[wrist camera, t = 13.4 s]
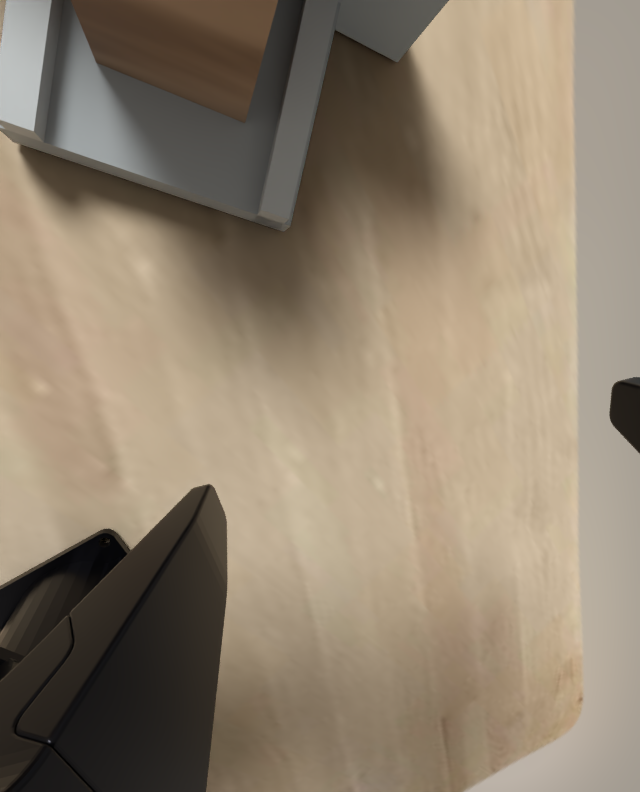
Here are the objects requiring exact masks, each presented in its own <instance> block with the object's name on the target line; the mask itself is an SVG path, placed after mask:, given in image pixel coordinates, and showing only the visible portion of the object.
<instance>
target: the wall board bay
mask: <svg viewBox="0 0 640 792" xmlns="http://www.w3.org/2000/svg"><path fill="white" fill-rule="evenodd" d="M448 1H449V0H278V3H277V6H276V10H275V14H274V17H273V21H272V25H271V29H270V32H269V36H268V40H267V43H266V47H265V51H264V55H263V58H262V62H261V66H260V69H259V73H258V77H257V81H256V84H255V88H254V92H253V95H252V99H251V103H250V107H249V110H248V114H247V118H246V121H245V123H243V122H241V121H238V120H236V119H233V118H231V117H228V116H226V115H224V114H221V113H219V112H216V111H214V110H211V109H209V108H206V107H204V106H201V105H199V104H197V103H194V102H192V101H189V100H187V99H184V98H182V97H179V96H177V95H174V94H172V93H170V92H167V91H165V90H162V89H160V88H157V87H155V86H152V85H150V84H147V83H145V82H143V81H140V80H138V79H135V78H133V77H130V76H128V75H125V74H123V73H120V72H118V71H115V70H113V69H111V68H108V67H106V66H103V65H101V64H98V63H96V61H95V58H94V56H93V54H92V51H91V49H90V46H89V44H88V41H87V39H86V36H85V34H84V32H83V29H82V27H81V24H80V22H79V19H78V17H77V14H76V12H75V10H74V7H73V5H72V2H71V0H6V6H5V14H4V22H3V31H2V39H1V47H0V131H2V132H3V133H4V134H5V135H6V136H7V137H8V138H9V139H10V140H12V141H13V142H15V143H18V144H21V145H24V146H27V147H30V148H33V149H36V150H39V151H42V152H45V153H48V154H51V155H54V156H57V157H60V158H63V159H66V160H69V161H72V162H75V163H78V164H81V165H84V166H87V167H90V168H93V169H96V170H99V171H102V172H105V173H108V174H111V175H114V176H117V177H120V178H123V179H126V180H129V181H132V182H135V183H138V184H141V185H144V186H147V187H150V188H153V189H156V190H159V191H162V192H165V193H168V194H171V195H174V196H177V197H180V198H183V199H186V200H189V201H192V202H195V203H198V204H201V205H204V206H207V207H210V208H213V209H216V210H219V211H222V212H225V213H228V214H231V215H234V216H237V217H240V218H243V219H246V220H249V221H252V222H255V223H258V224H261V225H264V226H267V227H270V228H273V229H276V230H279V231H283V232H284V231H285V230H286V229H288V228H289V227H290V226H291V221H292V217H293V213H294V208H295V204H296V199H297V195H298V191H299V186H300V182H301V177H302V173H303V168H304V164H305V160H306V155H307V151H308V146H309V142H310V138H311V133H312V129H313V124H314V120H315V116H316V111H317V107H318V102H319V98H320V93H321V89H322V85H323V80H324V76H325V71H326V67H327V63H328V58H329V54H330V49H331V45H332V40H333V36H334V32H335V30H336V31H338V32H340V33H342V34H344V35H346V36H348V37H350V38H352V39H353V40H355V41H357V42H359V43H361V44H363V45H365V46H367V47H369V48H371V49H372V50H374V51H376V52H378V53H380V54H382V55H384V56H386V57H388V58H390V59H391V60H393V61H395V62H398V61H399V60H400V59H401V58H402V56H403V55H404V54H405V53H406V51H407V50H408V49H409V48H410V47H411V45H412V44H413V43H414V42H415V41H416V39H417V38H418V37H419V36H420V35H421V33H422V32H423V31H424V30H425V29H426V27H427V26H428V25H429V24H430V22H431V21H432V20H433V19H434V18H435V16H436V15H437V14H438V13H439V12H440V10H441V9H442V8H443V7H444V6H445V4H446V3H447V2H448Z"/></svg>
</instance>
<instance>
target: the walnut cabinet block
mask: <svg viewBox="0 0 640 792" xmlns="http://www.w3.org/2000/svg"><path fill="white" fill-rule="evenodd" d="M71 2H72V5H73V7H74V10H75V12H76V14H77V17H78V19H79V22H80V24H81V27H82V29H83V32H84V34H85V36H86V39H87V41H88V44H89V46H90V49H91V51H92V54H93V56H94V58H95V61H96V63H98V64H101V65H103V66H106V67H108V68H111V69H113V70H115V71H118V72H120V73H123V74H125V75H128V76H130V77H133V78H135V79H138V80H140V81H143V82H145V83H147V84H150V85H152V86H155V87H157V88H160V89H162V90H165V91H167V92H170V93H172V94H174V95H177V96H179V97H182V98H184V99H187V100H189V101H192V102H194V103H197V104H199V105H201V106H204V107H206V108H209V109H211V110H214V111H216V112H219V113H221V114H224V115H226V116H228V117H231V118H233V119H236V120H238V121H241V122H243V123H245V121H246V118H247V114H248V110H249V107H250V103H251V99H252V95H253V92H254V88H255V84H256V81H257V77H258V73H259V69H260V66H261V62H262V58H263V55H264V51H265V47H266V43H267V40H268V36H269V32H270V29H271V25H272V21H273V17H274V14H275V10H276V6H277V3H278V0H71Z"/></svg>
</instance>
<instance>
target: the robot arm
mask: <svg viewBox="0 0 640 792" xmlns="http://www.w3.org/2000/svg"><path fill="white" fill-rule="evenodd" d="M610 420H611V422H612V424H613V426H614V427H615V428H616V429H617V430H618V431H619V432H620V433H621V434H622V435H623V436H624V438H625V439H626V440H627V441H628V442H629V443H630V444H631V445H632V446H633V447H634V448H635V449H636V450H637V451H638V452H639V453H640V377H633V378H629V379H625V380H621V381H618V382H616V383H615V384H614V385H613V387H612V393H611V404H610ZM101 538H108V539H109V540H110V542H108V543H104V542H102V541H101ZM226 597H227V521H226V516H225V512H224V510H223V507H222V505H221V503H220V500H219V498H218V495H217V493H216V491H215V488H214V487H213V486H212V485H210V484H208V485H203V486H199V487H195V488H193V489H192V490H190V491H189V492H188V493H187V495H186V496H185V497H184V498H183V499H182V500H181V501H180V502H179V503H178V504H177V505H176V506H175V507H174V508H173V509H172V510H171V511H170V512H169V513H168V514H167V515H166V516H165V517H164V518H163V519H162V520H161V521H160V522H159V523H158V524H157V525H156V526H155V527H154V528H153V529H152V530H151V531H150V532H149V533H148V534H147V535H146V536H145V537H144V538H143V539H142V540H141V541H140V542H139V543H138V544H137V545H136V546H135V547H134V548H133V549H132V550H131V551H130V550H129V549H128V548H127V547H126V545H125V544H124V543H123V541H122V540H121V539H120V537H119V536H118V535H117V533H116V532H114V531H113V530H111V529H103V530H100V531H99V532H97V533H95V534H93V535H91V536H90V537H88V538H86V539H84V540H82V541H81V542H79V543H77V544H75V545H73V546H72V547H70V548H68V549H66V550H64V551H63V552H61V553H59V554H57V555H55V556H54V557H52V558H50V559H48V560H46V561H45V562H43V563H41V564H39V565H37V566H36V567H34V568H32V569H30V570H28V571H27V572H25V573H23V574H21V575H19V576H18V577H16V578H14V579H12V580H10V581H9V582H7V583H5V584H3V585H1V586H0V792H206V786H207V777H208V767H209V758H210V748H211V739H212V730H213V720H214V711H215V701H216V692H217V683H218V673H219V664H220V654H221V645H222V636H223V626H224V617H225V607H226Z"/></svg>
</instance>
